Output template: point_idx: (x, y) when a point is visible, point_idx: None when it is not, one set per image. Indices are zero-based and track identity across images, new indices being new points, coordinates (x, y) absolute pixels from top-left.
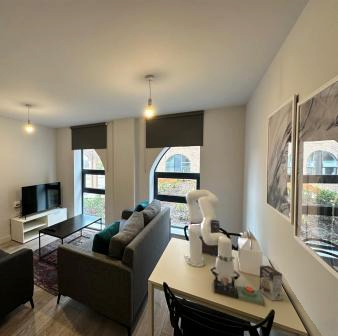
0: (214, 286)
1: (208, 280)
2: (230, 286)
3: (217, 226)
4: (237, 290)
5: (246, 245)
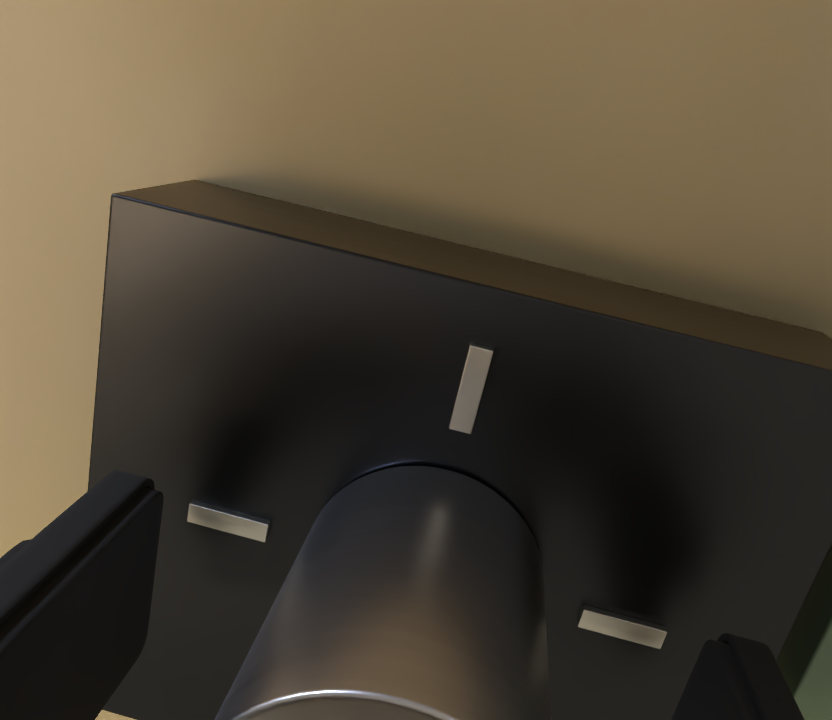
0: None
1: (50, 22)
2: (641, 569)
3: None
4: (818, 645)
5: None
